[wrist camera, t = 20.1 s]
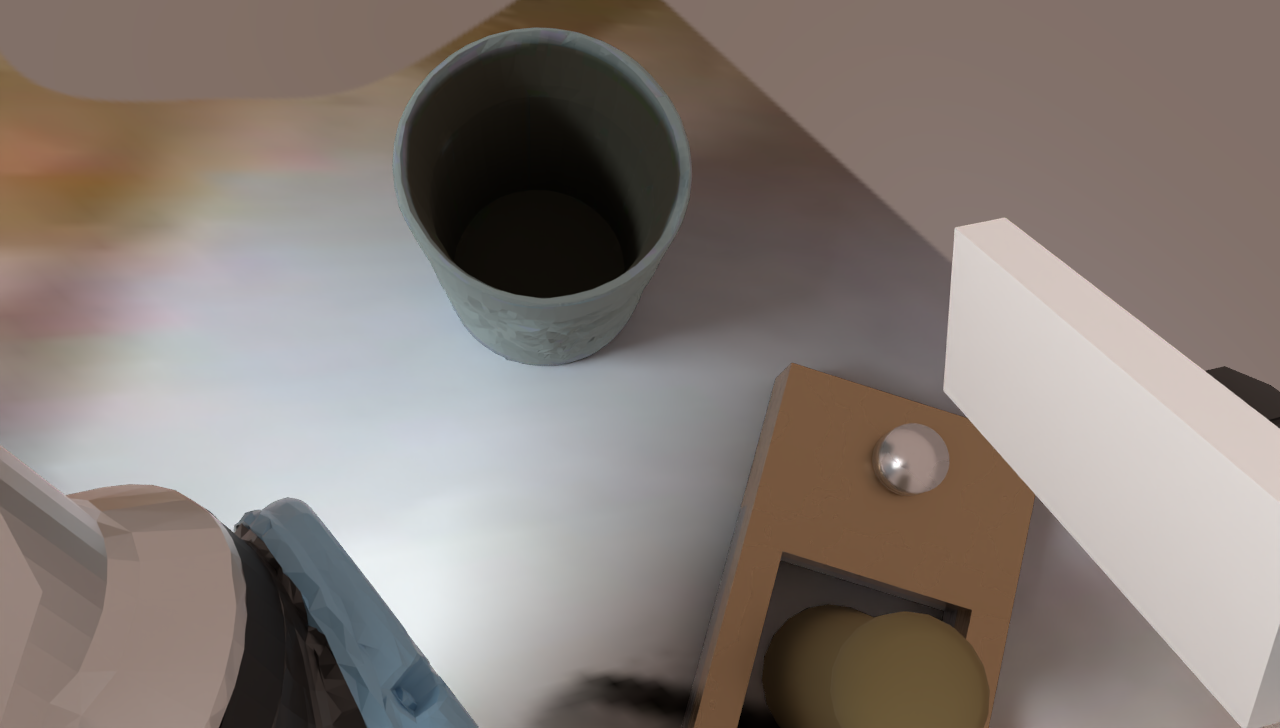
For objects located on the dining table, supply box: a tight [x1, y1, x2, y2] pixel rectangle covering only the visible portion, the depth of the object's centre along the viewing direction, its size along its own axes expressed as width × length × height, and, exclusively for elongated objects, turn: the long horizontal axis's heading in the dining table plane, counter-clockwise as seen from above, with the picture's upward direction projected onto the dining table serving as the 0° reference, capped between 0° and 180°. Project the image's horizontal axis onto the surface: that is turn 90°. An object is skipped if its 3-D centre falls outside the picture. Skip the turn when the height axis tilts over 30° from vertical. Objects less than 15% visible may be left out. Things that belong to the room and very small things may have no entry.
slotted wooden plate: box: [681, 363, 1035, 728], centre depth 43 cm, size 23×11×4 cm, turn 163°
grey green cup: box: [392, 28, 692, 366], centre depth 42 cm, size 10×10×12 cm
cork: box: [762, 604, 990, 728], centre depth 40 cm, size 6×6×11 cm
